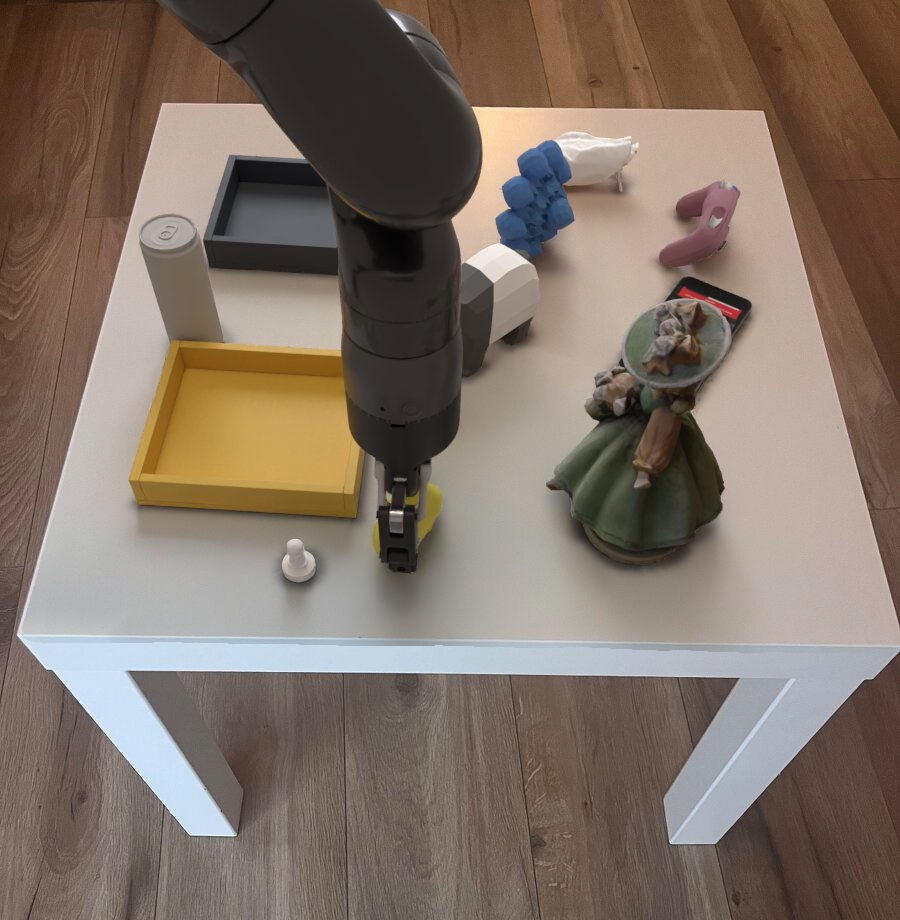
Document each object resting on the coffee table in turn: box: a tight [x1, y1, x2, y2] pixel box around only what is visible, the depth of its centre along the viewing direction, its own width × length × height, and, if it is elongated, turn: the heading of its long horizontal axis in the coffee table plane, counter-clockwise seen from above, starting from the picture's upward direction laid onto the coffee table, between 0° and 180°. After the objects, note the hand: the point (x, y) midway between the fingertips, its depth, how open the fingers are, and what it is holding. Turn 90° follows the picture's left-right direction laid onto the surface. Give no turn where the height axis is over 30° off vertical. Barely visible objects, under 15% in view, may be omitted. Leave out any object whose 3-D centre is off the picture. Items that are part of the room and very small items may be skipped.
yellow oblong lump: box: [371, 481, 443, 557], centre depth 71 cm, size 4×8×4 cm, turn 146°
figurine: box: [545, 298, 733, 566], centre depth 67 cm, size 14×14×20 cm
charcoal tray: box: [202, 154, 338, 276], centre depth 91 cm, size 16×14×3 cm
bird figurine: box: [554, 130, 641, 193], centre depth 95 cm, size 5×7×10 cm
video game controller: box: [658, 178, 741, 268], centre depth 90 cm, size 10×5×7 cm, turn 161°
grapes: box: [494, 139, 576, 260], centre depth 85 cm, size 12×7×12 cm, turn 147°
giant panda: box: [460, 242, 540, 379], centre depth 79 cm, size 15×6×10 cm, turn 133°
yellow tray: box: [127, 340, 366, 519], centre depth 76 cm, size 18×16×3 cm
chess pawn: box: [281, 538, 317, 583], centre depth 69 cm, size 3×3×4 cm
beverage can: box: [137, 213, 224, 345], centre depth 78 cm, size 5×5×12 cm
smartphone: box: [617, 275, 753, 393], centre depth 85 cm, size 7×1×15 cm
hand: (407, 526), depth 72 cm, fingers closed on yellow oblong lump, 7 cm apart
